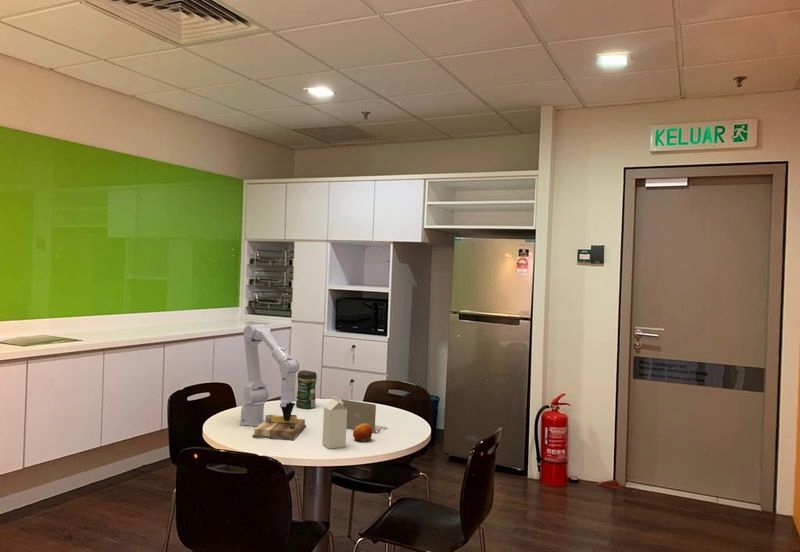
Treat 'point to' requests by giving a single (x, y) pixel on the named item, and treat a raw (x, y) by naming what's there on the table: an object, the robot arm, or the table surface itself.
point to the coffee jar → (306, 389)
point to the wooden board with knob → (280, 430)
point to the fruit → (362, 432)
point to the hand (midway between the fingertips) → (286, 420)
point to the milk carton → (334, 424)
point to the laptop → (361, 415)
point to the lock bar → (280, 419)
